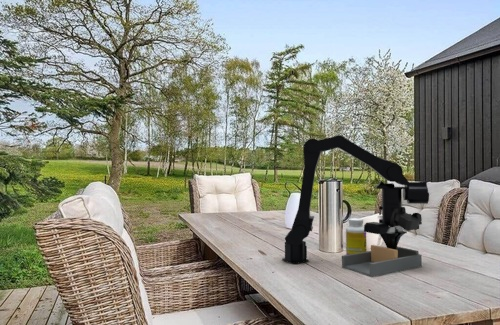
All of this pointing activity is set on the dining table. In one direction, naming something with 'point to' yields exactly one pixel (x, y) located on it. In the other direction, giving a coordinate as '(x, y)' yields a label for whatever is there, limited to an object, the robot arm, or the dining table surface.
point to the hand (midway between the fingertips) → (392, 253)
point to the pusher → (382, 253)
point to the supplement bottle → (355, 237)
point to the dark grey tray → (382, 262)
